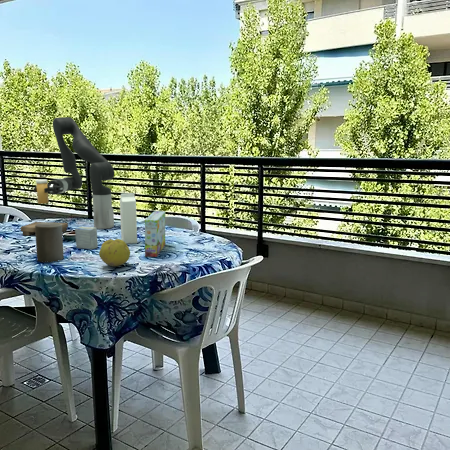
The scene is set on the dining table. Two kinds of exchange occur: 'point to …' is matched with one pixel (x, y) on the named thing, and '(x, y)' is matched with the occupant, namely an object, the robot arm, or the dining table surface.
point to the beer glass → (42, 191)
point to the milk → (128, 218)
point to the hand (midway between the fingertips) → (39, 190)
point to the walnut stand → (30, 228)
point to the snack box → (154, 233)
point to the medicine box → (86, 237)
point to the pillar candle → (49, 241)
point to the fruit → (114, 252)
